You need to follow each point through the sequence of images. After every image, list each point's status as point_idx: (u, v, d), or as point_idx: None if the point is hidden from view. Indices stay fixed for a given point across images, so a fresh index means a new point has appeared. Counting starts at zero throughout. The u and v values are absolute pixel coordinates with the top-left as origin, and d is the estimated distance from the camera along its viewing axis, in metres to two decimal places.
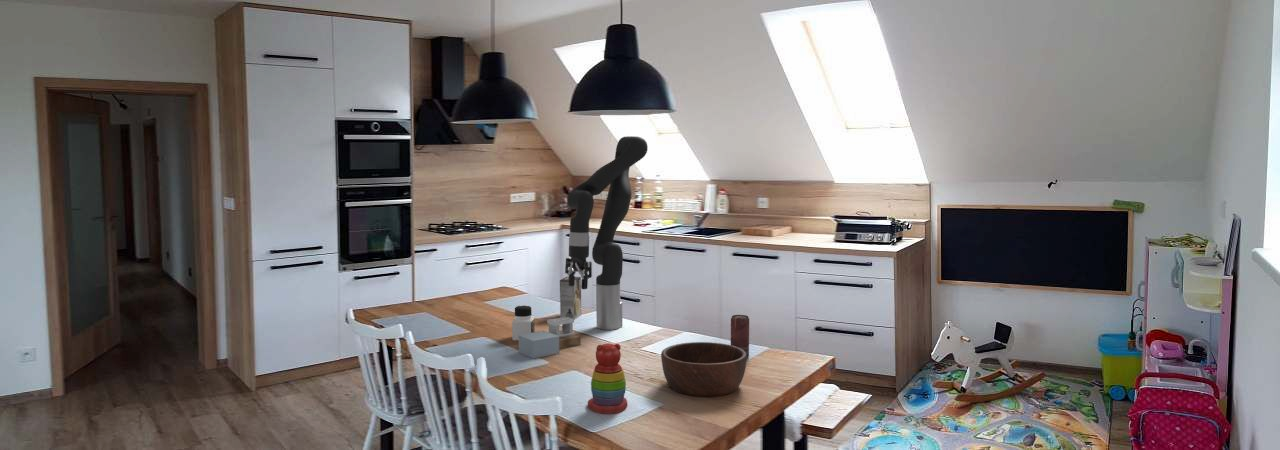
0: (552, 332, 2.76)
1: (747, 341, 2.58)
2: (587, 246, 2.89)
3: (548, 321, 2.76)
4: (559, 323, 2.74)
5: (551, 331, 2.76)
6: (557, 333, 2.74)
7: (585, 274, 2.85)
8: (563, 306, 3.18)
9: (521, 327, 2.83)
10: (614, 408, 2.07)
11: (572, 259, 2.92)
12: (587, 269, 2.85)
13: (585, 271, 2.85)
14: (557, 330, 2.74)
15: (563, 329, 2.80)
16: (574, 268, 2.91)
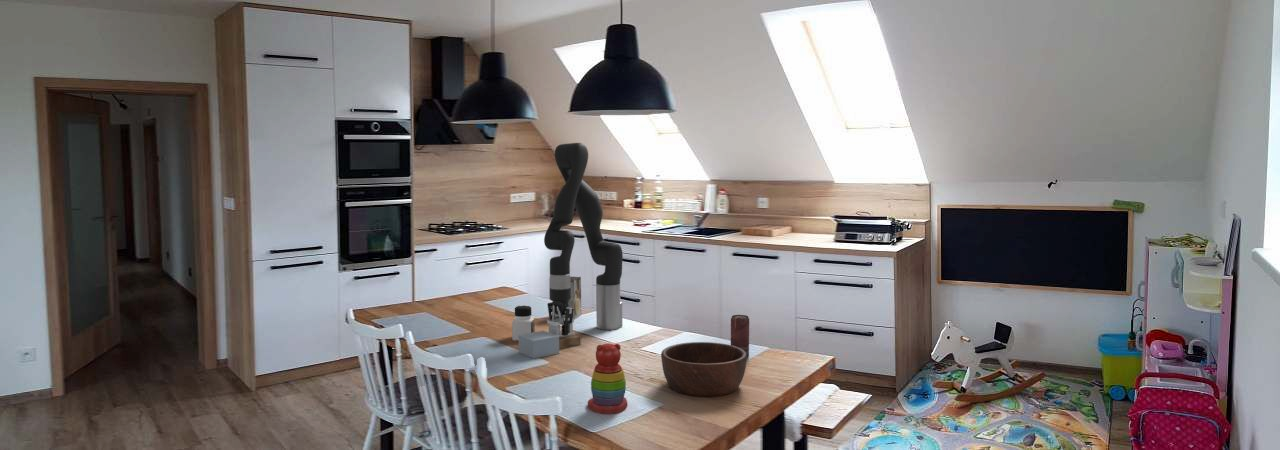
0: (552, 332, 2.76)
1: (747, 341, 2.58)
2: (568, 288, 2.74)
3: (548, 321, 2.76)
4: (559, 323, 2.74)
5: (551, 331, 2.76)
6: (557, 333, 2.74)
7: (565, 320, 2.72)
8: None
9: (521, 327, 2.83)
10: (614, 408, 2.07)
11: (553, 302, 2.78)
12: (568, 316, 2.72)
13: (566, 318, 2.72)
14: (557, 330, 2.74)
15: None
16: (556, 311, 2.77)
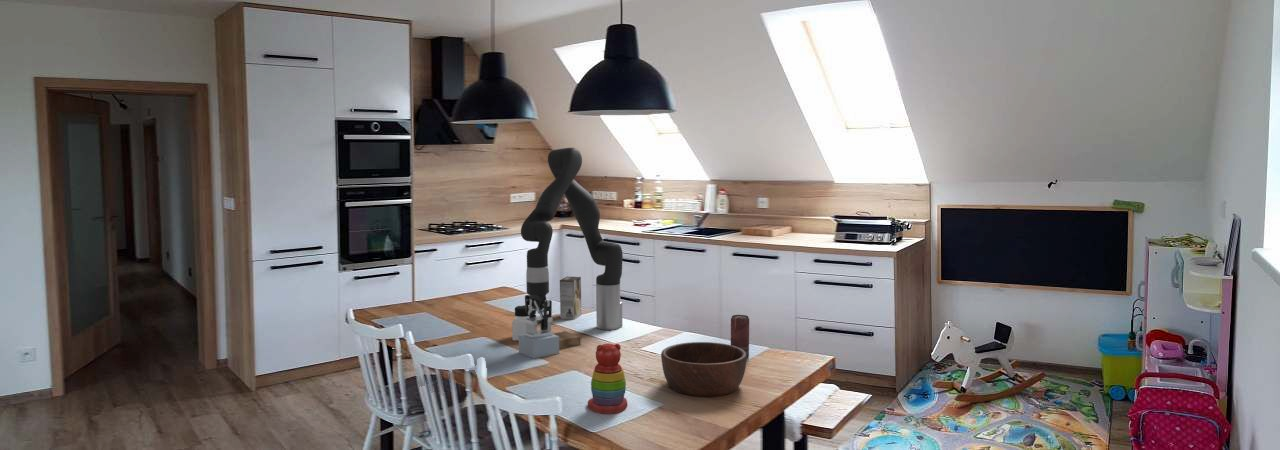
0: (529, 331, 2.64)
1: (747, 341, 2.58)
2: (546, 282, 2.63)
3: (525, 320, 2.65)
4: (537, 322, 2.63)
5: (528, 330, 2.65)
6: (535, 333, 2.62)
7: (544, 314, 2.60)
8: (563, 306, 3.18)
9: (521, 327, 2.83)
10: (614, 408, 2.07)
11: (531, 296, 2.66)
12: (546, 309, 2.60)
13: (544, 311, 2.60)
14: (535, 329, 2.62)
15: None
16: (533, 306, 2.65)
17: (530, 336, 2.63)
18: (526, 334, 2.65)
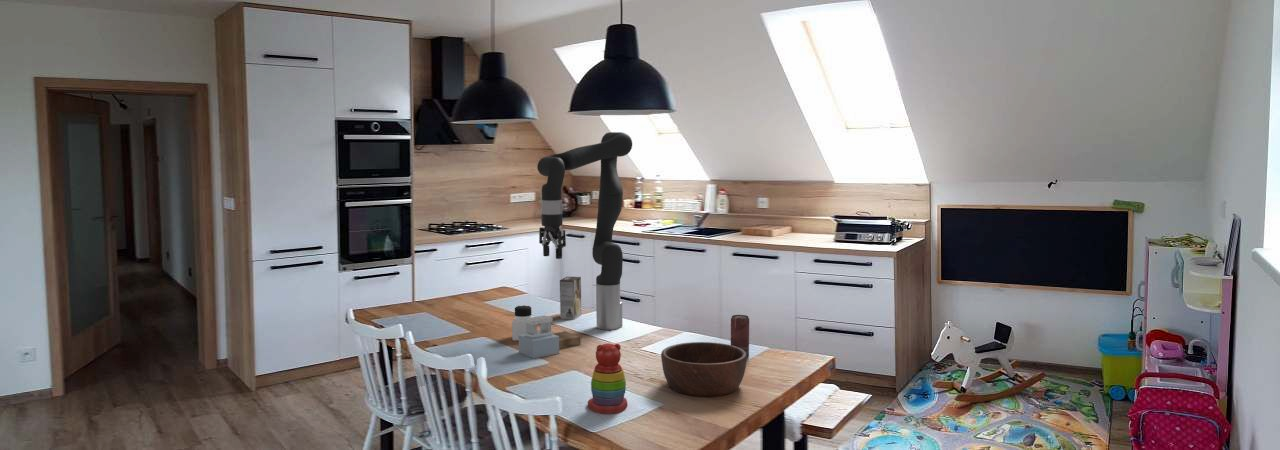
0: (529, 331, 2.64)
1: (747, 341, 2.58)
2: (560, 214, 2.79)
3: (525, 320, 2.65)
4: (537, 322, 2.63)
5: (528, 330, 2.65)
6: (535, 333, 2.62)
7: (559, 243, 2.76)
8: (563, 306, 3.18)
9: (521, 327, 2.83)
10: (614, 408, 2.07)
11: (545, 228, 2.83)
12: (561, 238, 2.76)
13: (559, 240, 2.76)
14: (535, 329, 2.62)
15: (541, 328, 2.69)
16: (548, 237, 2.82)
17: (530, 336, 2.63)
18: (526, 334, 2.65)
